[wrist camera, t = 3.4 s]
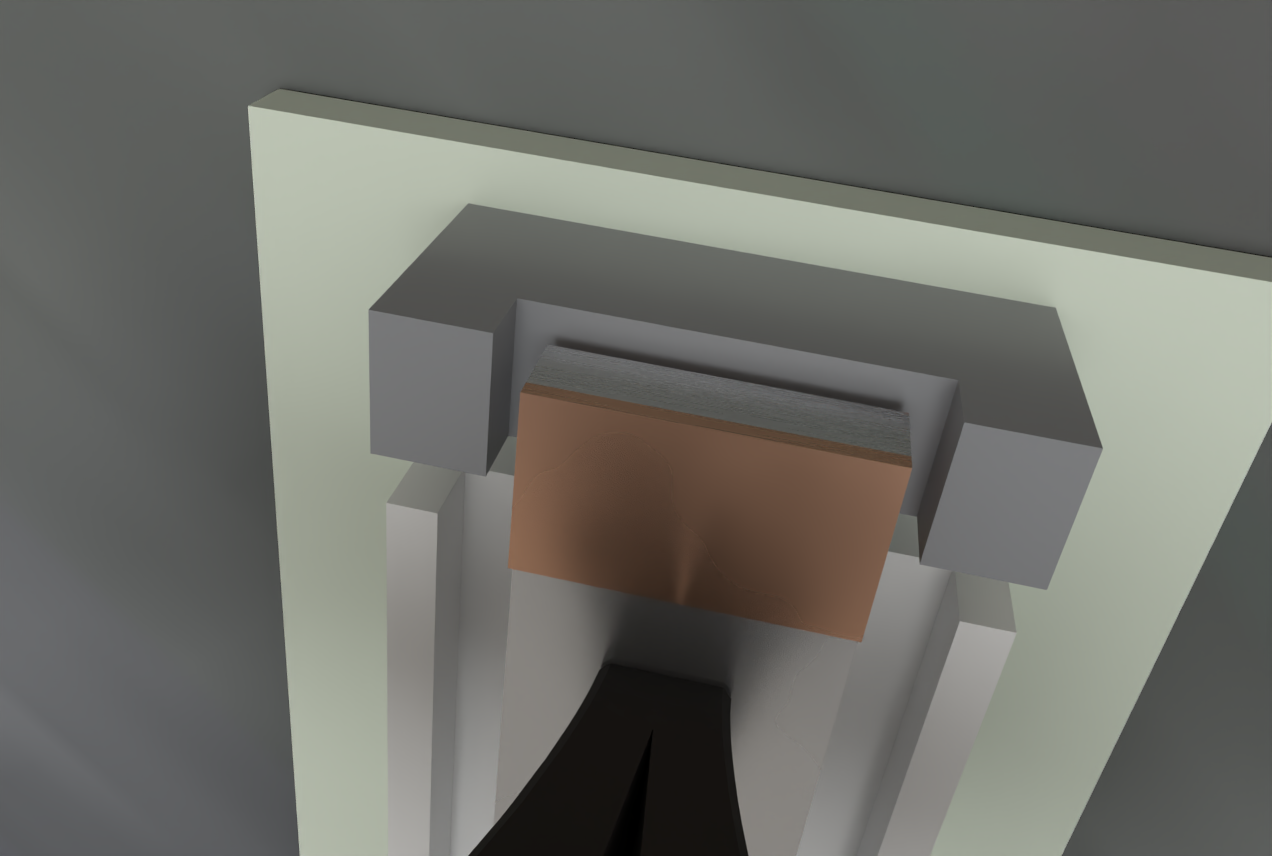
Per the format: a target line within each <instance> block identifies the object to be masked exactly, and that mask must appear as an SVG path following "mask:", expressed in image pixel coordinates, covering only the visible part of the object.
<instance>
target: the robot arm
mask: <svg viewBox="0 0 1272 856" xmlns="http://www.w3.org/2000/svg"><path fill="white" fill-rule="evenodd" d="M730 711H731V697H730V696H729V695H728V694H727V692H726V691H725V690H724V689H723V688H720V687H716V686H711V685H706V684H702V683H697V682H692V681H688V680H683V679H678V678H674V677H669V676H664V675H660V674H655V673H650V672H646V671H641V670H636V669H632V668H627V667H623V666H618V665H613V664H610V665H608V666H606V667H604V668H602V669H600V670H599V671H598V674H597V676H596V678H595V680H594V682H593V684H592V686H591V688H590V690H589V692H588V693H587V695H586V697H585V699H584V700H583V702H582V704H581V706H580V707H579V709H578V711H577V712H576V714H575V716H574V717H573V719H572V720H571V722H570V723H569V725H568V727H567V728H566V730H565V731H564V733H563V734H562V735H561V737H560V738H559V740H558V741H557V743H556V744H555V746H554V747H553V749H552V750H551V752H550V753H549V755H548V756H547V757H546V759H545V760H544V761H543V763H542V764H541V765H540V767H539V768H538V769H537V771H536V772H535V773H534V775H533V776H532V777H531V779H530V780H529V781H528V783H527V784H526V785H525V787H524V788H523V789H522V791H521V792H520V793H519V795H518V796H517V797H516V799H515V800H514V801H513V803H512V804H511V805H510V807H509V808H508V809H507V810H506V812H505V813H504V814H503V815H502V816H501V818H500V819H499V820H498V821H497V822H496V824H495V825H494V826H493V827H492V828H491V829H490V831H489V832H488V833H487V834H486V835H485V836H484V838H483V839H482V840H481V841H480V842H479V843H478V845H477V846H476V847H475V848H474V849H473V850H472V852H471V853H470V854H469V855H468V856H749V855H748V850H747V845H746V841H745V836H744V831H743V826H742V821H741V815H740V809H739V803H738V797H737V789H736V782H735V774H734V767H733V757H732V746H731V721H730Z"/></svg>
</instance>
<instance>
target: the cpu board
mask: <svg viewBox="0 0 1272 856" xmlns="http://www.w3.org/2000/svg"><path fill="white" fill-rule="evenodd" d="M248 115H249V129H250V143H251V158H252V172H253V187H254V201H255V216H256V230H257V244H258V259H259V273H260V288H261V302H262V317H263V331H264V345H265V360H266V374H267V389H268V403H269V418H270V432H271V446H272V461H273V475H274V490H275V504H276V518H277V533H278V547H279V562H280V576H281V591H282V605H283V619H284V634H285V648H286V663H287V677H288V692H289V706H290V720H291V735H292V749H293V764H294V778H295V792H296V807H297V821H298V836H299V850H300V856H468V855H469V854H470V853H471V852H472V850H473V849H474V848H475V847H476V846H477V845H478V843H479V842H480V841H481V840H482V839H483V838H484V836H485V835H486V834H487V833H488V832H489V831H490V829H491V828H492V827H493V824H494V811H495V797H496V784H497V770H498V757H499V743H500V730H501V716H502V702H503V689H504V675H505V662H506V648H507V635H508V621H509V607H510V594H511V580H512V569H509V568H508V557H509V543H510V529H511V515H512V501H513V487H514V473H515V459H516V445H517V430H518V416H519V402H520V392H521V390H522V388H523V387H524V385H525V383H526V382H527V380H528V378H529V376H530V375H531V373H532V371H533V369H534V368H535V366H536V364H537V363H538V361H539V359H540V357H541V356H542V354H543V352H544V350H545V349H546V347H547V345H553V346H558V347H563V348H569V349H574V350H579V351H585V352H590V353H595V354H600V355H606V356H611V357H616V358H622V359H627V360H632V361H637V362H643V363H648V364H653V365H659V366H664V367H669V368H674V369H680V370H685V371H690V372H696V373H701V374H706V375H711V376H717V377H722V378H727V379H733V380H738V381H743V382H748V383H754V384H759V385H764V386H770V387H775V388H780V389H785V390H791V391H796V392H801V393H807V394H812V395H817V396H822V397H828V398H833V399H838V400H844V401H849V402H854V403H859V404H865V405H870V406H875V407H881V408H886V409H891V410H896V411H902V412H907V413H909V422H910V439H911V456H912V471H911V474H910V478H909V481H908V485H907V488H906V491H905V495H904V498H903V502H902V505H901V509H900V512H899V515H898V519H897V522H896V526H895V529H894V533H893V536H892V540H891V543H890V546H889V550H888V553H887V557H886V560H885V564H884V567H883V570H882V574H881V577H880V581H879V584H878V588H877V591H876V594H875V598H874V601H873V605H872V608H871V612H870V615H869V618H868V622H867V625H866V629H865V632H864V636H863V639H862V642H858V643H857V647H856V650H855V654H854V657H853V661H852V664H851V668H850V671H849V675H848V678H847V681H846V685H845V688H844V692H843V695H842V699H841V702H840V706H839V709H838V713H837V716H836V720H835V723H834V726H833V730H832V733H831V737H830V740H829V744H828V747H827V751H826V754H825V758H824V761H823V765H822V768H821V771H820V775H819V778H818V782H817V785H816V789H815V792H814V796H813V799H812V803H811V806H810V810H809V813H808V816H807V820H806V823H805V827H804V830H803V834H802V837H801V841H800V844H799V848H798V851H797V855H796V856H1062V853H1063V851H1064V849H1065V847H1066V845H1067V843H1068V841H1069V839H1070V837H1071V835H1072V833H1073V831H1074V829H1075V827H1076V825H1077V823H1078V820H1079V818H1080V816H1081V814H1082V812H1083V810H1084V808H1085V806H1086V804H1087V802H1088V800H1089V798H1090V796H1091V794H1092V792H1093V790H1094V787H1095V785H1096V783H1097V781H1098V779H1099V777H1100V775H1101V773H1102V771H1103V769H1104V767H1105V765H1106V763H1107V761H1108V759H1109V757H1110V754H1111V752H1112V750H1113V748H1114V746H1115V744H1116V742H1117V740H1118V738H1119V736H1120V734H1121V732H1122V730H1123V728H1124V726H1125V724H1126V722H1127V719H1128V717H1129V715H1130V713H1131V711H1132V709H1133V707H1134V705H1135V703H1136V701H1137V699H1138V697H1139V695H1140V693H1141V691H1142V689H1143V686H1144V684H1145V682H1146V680H1147V678H1148V676H1149V674H1150V672H1151V670H1152V668H1153V666H1154V664H1155V662H1156V660H1157V658H1158V656H1159V653H1160V651H1161V649H1162V647H1163V645H1164V643H1165V641H1166V639H1167V637H1168V635H1169V633H1170V631H1171V629H1172V627H1173V625H1174V623H1175V620H1176V618H1177V616H1178V614H1179V612H1180V610H1181V608H1182V606H1183V604H1184V602H1185V600H1186V598H1187V596H1188V594H1189V592H1190V590H1191V588H1192V585H1193V583H1194V581H1195V579H1196V577H1197V575H1198V573H1199V571H1200V569H1201V567H1202V565H1203V563H1204V561H1205V559H1206V557H1207V555H1208V552H1209V550H1210V548H1211V546H1212V544H1213V542H1214V540H1215V538H1216V536H1217V534H1218V532H1219V530H1220V528H1221V526H1222V524H1223V522H1224V519H1225V517H1226V515H1227V513H1228V511H1229V509H1230V507H1231V505H1232V503H1233V501H1234V499H1235V497H1236V495H1237V493H1238V491H1239V489H1240V486H1241V484H1242V482H1243V480H1244V478H1245V476H1246V474H1247V472H1248V470H1249V468H1250V466H1251V464H1252V462H1253V460H1254V458H1255V456H1256V453H1257V451H1258V449H1259V447H1260V445H1261V443H1262V441H1263V439H1264V437H1265V435H1266V433H1267V431H1268V429H1269V427H1270V425H1271V423H1272V258H1270V257H1264V256H1258V255H1252V254H1247V253H1241V252H1235V251H1229V250H1223V249H1217V248H1211V247H1205V246H1200V245H1194V244H1188V243H1182V242H1176V241H1170V240H1164V239H1158V238H1153V237H1147V236H1141V235H1135V234H1129V233H1123V232H1117V231H1111V230H1106V229H1100V228H1094V227H1088V226H1082V225H1076V224H1070V223H1065V222H1059V221H1053V220H1047V219H1041V218H1035V217H1029V216H1023V215H1018V214H1012V213H1006V212H1000V211H994V210H988V209H982V208H976V207H971V206H965V205H959V204H953V203H947V202H941V201H935V200H929V199H924V198H918V197H912V196H906V195H900V194H894V193H888V192H883V191H877V190H871V189H865V188H859V187H853V186H847V185H841V184H836V183H830V182H824V181H818V180H812V179H806V178H800V177H794V176H789V175H783V174H777V173H771V172H765V171H759V170H753V169H747V168H742V167H736V166H730V165H724V164H718V163H712V162H706V161H701V160H695V159H689V158H683V157H677V156H671V155H665V154H659V153H654V152H648V151H642V150H636V149H630V148H624V147H618V146H612V145H607V144H601V143H595V142H589V141H583V140H577V139H571V138H566V137H560V136H554V135H548V134H542V133H536V132H530V131H524V130H519V129H513V128H507V127H501V126H495V125H489V124H483V123H477V122H472V121H466V120H460V119H454V118H448V117H442V116H436V115H430V114H425V113H419V112H413V111H407V110H401V109H395V108H389V107H384V106H378V105H372V104H366V103H360V102H354V101H348V100H342V99H337V98H331V97H325V96H319V95H313V94H307V93H301V92H295V91H290V90H284V89H278V90H276V91H274V92H273V93H271V94H269V95H267V96H265V97H263V98H261V99H259V100H258V101H256V102H254V103H252V104H250V105H248Z"/></svg>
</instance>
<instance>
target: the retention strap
mask: <svg viewBox="0 0 1272 856" xmlns="http://www.w3.org/2000/svg"><path fill="white" fill-rule="evenodd" d="M911 471H912V456H911V439H910V422H909V413H907V412H902V411H896V410H891V409H886V408H881V407H875V406H870V405H865V404H859V403H854V402H849V401H844V400H838V399H833V398H828V397H822V396H817V395H812V394H807V393H801V392H796V391H791V390H785V389H780V388H775V387H770V386H764V385H759V384H754V383H748V382H743V381H738V380H733V379H727V378H722V377H717V376H711V375H706V374H701V373H696V372H690V371H685V370H680V369H674V368H669V367H664V366H659V365H653V364H648V363H643V362H637V361H632V360H627V359H622V358H616V357H611V356H606V355H600V354H595V353H590V352H585V351H579V350H574V349H569V348H563V347H558V346H553V345H547V347H546V349H545V350H544V352H543V354H542V356H541V357H540V359H539V361H538V363H537V364H536V366H535V368H534V369H533V371H532V373H531V375H530V376H529V378H528V380H527V382H526V383H525V385H524V387H523V388H522V390H521V392H520V402H519V416H518V430H517V445H516V459H515V473H514V487H513V501H512V515H511V529H510V543H509V557H508V568H509V569H512V580H511V594H510V607H509V621H508V635H507V648H506V662H505V675H504V689H503V702H502V716H501V730H500V743H499V757H498V770H497V784H496V797H495V811H494V824H493V826H494V825H495V824H496V822H497V821H498V820H499V819H500V818H501V816H502V815H503V814H504V813H505V812H506V810H507V809H508V808H509V807H510V805H511V804H512V803H513V801H514V800H515V799H516V797H517V796H518V795H519V793H520V792H521V791H522V789H523V788H524V787H525V785H526V784H527V783H528V781H529V780H530V779H531V777H532V776H533V775H534V773H535V772H536V771H537V769H538V768H539V767H540V765H541V764H542V763H543V761H544V760H545V759H546V757H547V756H548V755H549V753H550V752H551V750H552V749H553V747H554V746H555V744H556V743H557V741H558V740H559V738H560V737H561V735H562V734H563V733H564V731H565V730H566V728H567V727H568V725H569V723H570V722H571V720H572V719H573V717H574V716H575V714H576V712H577V711H578V709H579V707H580V706H581V704H582V702H583V700H584V699H585V697H586V695H587V693H588V692H589V690H590V688H591V686H592V684H593V682H594V680H595V678H596V676H597V674H598V671H599V670H600V669H602V668H604V667H606V666H608V665H610V664H613V665H618V666H623V667H627V668H632V669H636V670H641V671H646V672H650V673H655V674H660V675H664V676H669V677H674V678H678V679H683V680H688V681H692V682H697V683H702V684H706V685H711V686H716V687H720V688H723V689H724V690H725V691H726V692H727V694H728V695H729V696H730V697H731V711H730V721H731V746H732V757H733V767H734V774H735V782H736V789H737V797H738V803H739V809H740V815H741V821H742V826H743V831H744V836H745V841H746V845H747V850H748V855H749V856H796V855H797V851H798V848H799V844H800V841H801V837H802V834H803V830H804V827H805V823H806V820H807V816H808V813H809V810H810V806H811V803H812V799H813V796H814V792H815V789H816V785H817V782H818V778H819V775H820V771H821V768H822V765H823V761H824V758H825V754H826V751H827V747H828V744H829V740H830V737H831V733H832V730H833V726H834V723H835V720H836V716H837V713H838V709H839V706H840V702H841V699H842V695H843V692H844V688H845V685H846V681H847V678H848V675H849V671H850V668H851V664H852V661H853V657H854V654H855V650H856V647H857V643H858V642H862V639H863V636H864V632H865V629H866V625H867V622H868V618H869V615H870V612H871V608H872V605H873V601H874V598H875V594H876V591H877V588H878V584H879V581H880V577H881V574H882V570H883V567H884V564H885V560H886V557H887V553H888V550H889V546H890V543H891V540H892V536H893V533H894V529H895V526H896V522H897V519H898V515H899V512H900V509H901V505H902V502H903V498H904V495H905V491H906V488H907V485H908V481H909V478H910V474H911Z"/></svg>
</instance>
